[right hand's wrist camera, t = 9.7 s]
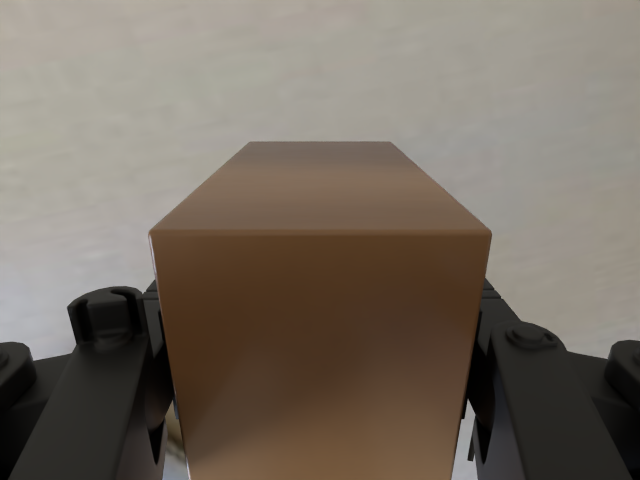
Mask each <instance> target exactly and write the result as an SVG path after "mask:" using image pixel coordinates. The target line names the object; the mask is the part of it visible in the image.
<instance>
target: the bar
mask: <svg viewBox="0 0 640 480" xmlns="http://www.w3.org/2000/svg"><path fill="white" fill-rule="evenodd" d="M148 237H149V243H150V249H151V255H152V261H153V267H154V273H155V279H156V285H157V291H158V297H159V303H160V309H161V315H162V321H163V327H164V333H165V339H166V345H167V351H168V357H169V363H170V369H171V375H172V380H173V386H174V392H175V398H176V404H177V410H178V416H179V422H180V428H181V434H182V440H183V446H184V452H185V458H186V464H187V470H188V476H189V480H451V478H452V472H453V466H454V460H455V454H456V448H457V442H458V436H459V430H460V424H461V418H462V412H463V406H464V400H465V394H466V388H467V382H468V376H469V370H470V364H471V358H472V352H473V346H474V340H475V334H476V328H477V322H478V316H479V310H480V304H481V298H482V292H483V286H484V280H485V274H486V268H487V262H488V256H489V250H490V244H491V238H492V233H491V230H490V229H488V228H487V227H486V226H485V225H484V224H483V223H482V222H481V221H479V220H478V219H477V218H476V217H475V216H474V215H473V214H471V213H470V212H469V211H468V210H467V209H466V208H465V207H464V206H462V205H461V204H460V203H459V202H458V201H457V200H456V199H455V198H453V197H452V196H451V195H450V194H449V193H448V192H447V191H446V190H444V189H443V188H442V187H441V186H440V185H439V184H438V183H436V182H435V181H434V180H433V179H432V178H431V177H430V176H429V175H427V174H426V173H425V172H424V171H423V170H422V169H421V168H420V167H418V166H417V165H416V164H415V163H414V162H413V161H412V160H411V159H409V158H408V157H407V156H406V155H405V154H404V153H403V152H401V151H400V150H399V149H398V148H397V147H396V146H395V145H394V144H392V143H391V142H249V143H248V144H247V145H245V146H244V147H243V148H242V149H241V150H240V151H239V152H238V153H236V154H235V155H234V156H233V157H232V158H231V159H230V160H229V161H227V162H226V163H225V164H224V165H223V166H222V167H221V168H219V169H218V170H217V171H216V172H215V173H214V174H213V175H212V176H210V177H209V178H208V179H207V180H206V181H205V182H204V183H203V184H201V185H200V186H199V187H198V188H197V189H196V190H195V191H194V192H192V193H191V194H190V195H189V196H188V197H187V198H186V199H185V200H183V201H182V202H181V203H180V204H179V205H178V206H177V207H176V208H174V209H173V210H172V211H171V212H170V213H169V214H168V215H167V216H165V217H164V218H163V219H162V220H161V221H160V222H159V223H157V224H156V225H155V226H154V227H153V228H152V229H151V230H150V231H149V234H148Z"/></svg>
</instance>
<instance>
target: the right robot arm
mask: <svg viewBox="0 0 640 480" xmlns="http://www.w3.org/2000/svg"><path fill="white" fill-rule="evenodd" d="M67 310H68V313H69V317H70V321H71V325H72V329H73V332H74V336H75V340H76V344H77V345H76V347H75V348H74V350H73V352H72V353H71V354H67V355H62V356H57V357H52V358H46V359H41V360H36V361H33V359H32V355H31V352H30V349H29V347H27V346H26V345H25V344H23V343H17V342H5V343H0V480H162V476H163V468H164V460H165V452H166V444H167V436H168V432H167V426H166V420H165V415H166V413H167V411H168V408H169V406H170V404H171V402H172V400H173V405H174V410H175V416H176V419H179V416H178V410H177V404H176V398H175V392H174V386H173V380H172V375H171V369H170V363H169V357H168V351H167V345H166V339H165V333H164V327H163V321H162V315H161V309H160V303H159V297H158V291H157V285H156V279H155V280H154V281H153V282H152V284H151V285H150V286H149V287H148V289H147V290H146V292H144V293H143V295H142V292H141V291H139V290H138V289H136V288H132V287H127V286H118V287H108V288H103V289H98V290H95V291H92V292H89V293H86V294H84V295H82V296H81V297H79V298H77V299H75V300H74V301H73V302H72V303H71V304H69V305H68V306H67ZM468 399H469V401H470V404H471V406H472V408H473V410H474V412H475V414H476V415H475V420H474V426H473V431H472V437H471V442H470V447H469V453H468V461H473V458H474V453H475V459H476V467H477V475H478V480H640V341H635V340H625V341H618V342H617V343H615V344H614V345H612V347H611V350H610V353H609V357H608V359H604V358H598V357H593V356H588V355H582V354H577V353H573V352H569V351H567V350H566V348H565V346H564V344H563V343H562V341H561V340H560V339H559V338H558V337H557V336H556V335H555V334H553V333H552V332H550V331H549V330H547V329H545V328H543V327H540V326H538V325H535V324H532V323H528V322H523V321H521V320H520V319H519V318H518V317H517V315H516V314H515V313H514V312H513V311H512V309H511V308H510V307H509V306H508V305H507V303H506V302H505V301H504V300H503V299H501V296H500V295H499V294H498V292H497V291H496V290H494V288H493V286H492V285H491V284H490V283H489V282H488V280H487V279H486V278H485V280H484V286H483V292H482V298H481V304H480V310H479V316H478V322H477V328H476V334H475V340H474V346H473V352H472V358H471V364H470V370H469V376H468V382H467V388H466V394H465V400H464V406H463V412H462V418H461V419H464V418H465V412H466V406H467V400H468Z"/></svg>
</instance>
